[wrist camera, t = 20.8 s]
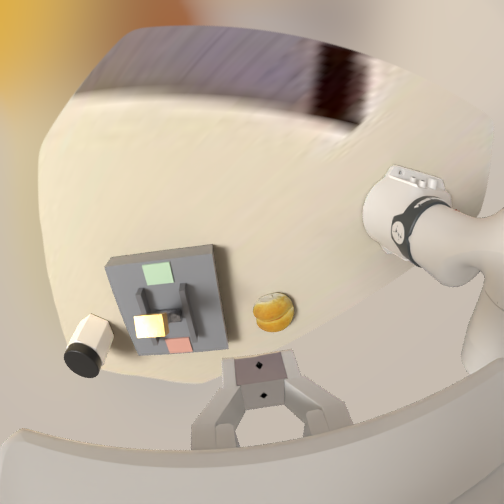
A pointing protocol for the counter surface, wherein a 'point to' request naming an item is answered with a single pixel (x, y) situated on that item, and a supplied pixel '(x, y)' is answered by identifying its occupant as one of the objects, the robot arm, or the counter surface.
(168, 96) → the counter surface
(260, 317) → the bread roll
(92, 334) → the jar
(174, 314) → the breaker lever
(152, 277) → the switch panel
